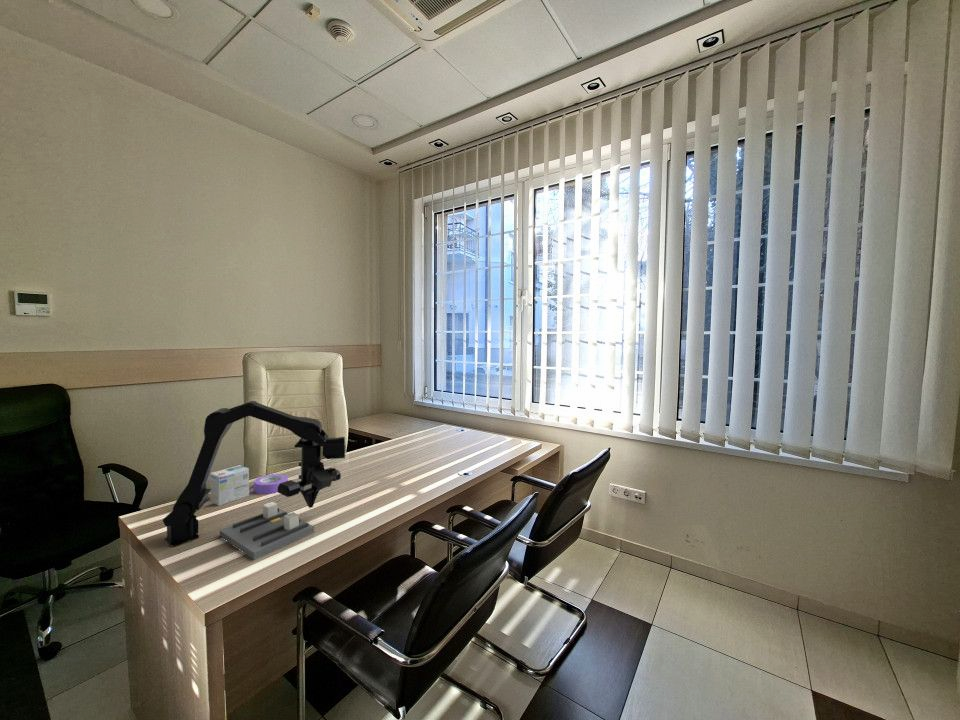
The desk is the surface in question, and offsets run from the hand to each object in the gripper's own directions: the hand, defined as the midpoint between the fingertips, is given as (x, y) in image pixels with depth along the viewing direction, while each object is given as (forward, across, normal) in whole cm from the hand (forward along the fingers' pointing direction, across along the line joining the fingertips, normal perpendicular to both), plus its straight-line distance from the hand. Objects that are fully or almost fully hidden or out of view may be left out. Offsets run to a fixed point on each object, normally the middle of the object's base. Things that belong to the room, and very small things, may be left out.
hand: (310, 507), depth 122 cm
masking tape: (+7, +9, +39) cm, 40 cm away
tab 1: (+4, -6, +12) cm, 14 cm away
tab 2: (+4, -6, 0) cm, 8 cm away
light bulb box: (+7, -5, +41) cm, 42 cm away
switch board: (+6, -10, +6) cm, 14 cm away
